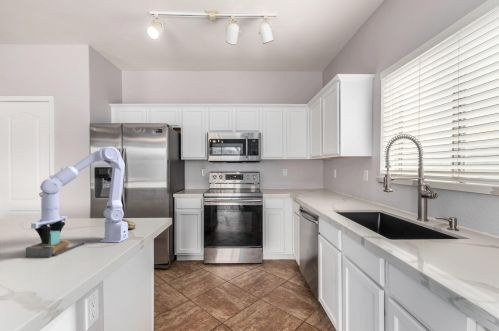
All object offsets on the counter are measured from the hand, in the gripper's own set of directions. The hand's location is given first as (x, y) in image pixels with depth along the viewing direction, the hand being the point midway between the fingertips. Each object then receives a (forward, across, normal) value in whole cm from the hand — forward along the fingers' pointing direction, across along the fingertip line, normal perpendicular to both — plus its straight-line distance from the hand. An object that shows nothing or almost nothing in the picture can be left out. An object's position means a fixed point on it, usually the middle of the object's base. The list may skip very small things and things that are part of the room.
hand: (50, 241), depth 99 cm
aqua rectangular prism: (+2, 0, 0) cm, 2 cm away
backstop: (+4, -3, 0) cm, 5 cm away
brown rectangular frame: (+4, 0, 0) cm, 4 cm away
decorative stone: (+5, -40, +8) cm, 41 cm away
